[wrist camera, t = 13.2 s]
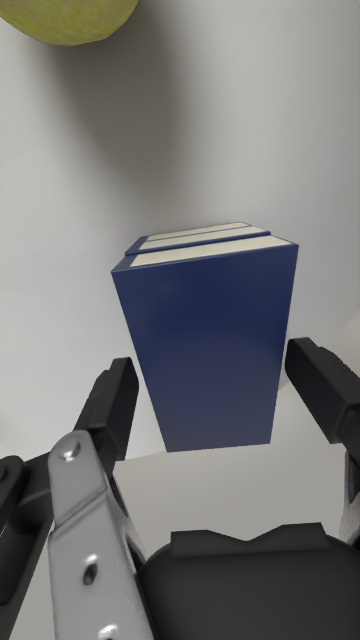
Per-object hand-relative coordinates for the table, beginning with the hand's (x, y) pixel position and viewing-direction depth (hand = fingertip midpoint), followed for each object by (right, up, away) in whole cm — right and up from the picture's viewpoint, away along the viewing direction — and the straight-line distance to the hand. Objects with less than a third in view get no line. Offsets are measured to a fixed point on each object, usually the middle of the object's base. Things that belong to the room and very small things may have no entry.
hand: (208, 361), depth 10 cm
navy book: (0, 0, +1) cm, 1 cm away
